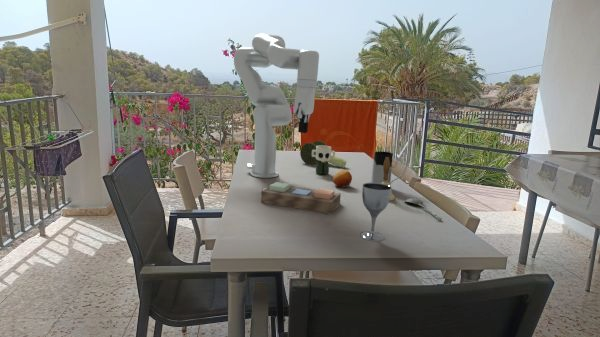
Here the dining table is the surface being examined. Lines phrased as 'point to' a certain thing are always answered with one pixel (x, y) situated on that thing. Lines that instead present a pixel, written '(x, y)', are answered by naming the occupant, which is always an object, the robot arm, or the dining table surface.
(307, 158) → the green broccoli
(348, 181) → the fruit
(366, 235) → the wine glass
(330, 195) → the terracotta key
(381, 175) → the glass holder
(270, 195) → the key panel
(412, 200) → the soupspoon
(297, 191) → the slate key
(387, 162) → the hand bell
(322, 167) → the character mug
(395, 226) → the dining table surface
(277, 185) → the sage key
